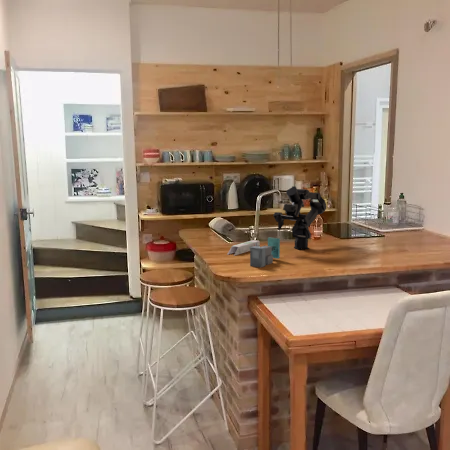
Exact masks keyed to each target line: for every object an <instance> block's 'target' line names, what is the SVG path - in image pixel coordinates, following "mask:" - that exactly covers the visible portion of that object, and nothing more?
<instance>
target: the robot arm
mask: <svg viewBox="0 0 450 450" xmlns="http://www.w3.org/2000/svg"><path fill="white" fill-rule="evenodd" d="M285 193H286V196H287V198H288V200H289V201H290V202H291V203H283V207H282V210H283V211H284V214H283V213H282V212H279V211H278V212H274V213H273V214H272V215H273V216H272V217H273V218H274V220H275V222H276V223H277V231H280V230H282V227H283V226H284V224H285V222H284V221H285V220H289V221H295V223H294V224H293V226H292V227H291V233H292V238H294V239H295V240H294V246H293V248H294V249H296V250H299V251H300V250H308V249H309V250H310V247H309V245H308V244H309V239H311V236H312V234H311V231H310V230H309V227H310V226H311V224H312V223H313V222H314V221H315V219H316V218H317V217H318V216H319V215H322V214H323V213H325V211H326V210H327V203H326V200H325V199H324V198H323V197H322V196H321V193H320V192H311V191H310V190H309V189H303V188H298V187H296V186H295V185H294V186H291V187H290V188H288V189H287V190H286V192H285ZM306 200H307V201H308V200H310V202H309V207H310V210H309V212H307V214H303V213H301V209H302V208H304V207H305V205H304V201H306ZM314 200H315V201H314ZM316 200H317V201H316Z"/></svg>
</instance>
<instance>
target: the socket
mask: <svg viewBox="0 0 450 450" xmlns="http://www.w3.org/2000/svg"><path fill="white" fill-rule="evenodd" d="M249 258H250V259H249V265H250V267H255V268H264V267H266V265H265V247H262V246H260V247H258V246H253V247H250V251H249Z"/></svg>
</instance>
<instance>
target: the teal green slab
mask: <svg viewBox="0 0 450 450" xmlns="http://www.w3.org/2000/svg"><path fill="white" fill-rule="evenodd" d="M280 239H281V238H279V237H270V236H269V237H267V246H272V253H271V255H273V259H280V256H281V254H280V253H281V250H280V248H281V244H280V243H281V242H280V241H281V240H280Z"/></svg>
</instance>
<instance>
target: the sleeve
mask: <svg viewBox="0 0 450 450" xmlns="http://www.w3.org/2000/svg"><path fill="white" fill-rule="evenodd" d="M261 247H265V266H268V265H272V264H273V263H274V262H273V260H274V258H273V255H271V253H272V246H268V245H262V246H261Z"/></svg>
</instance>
